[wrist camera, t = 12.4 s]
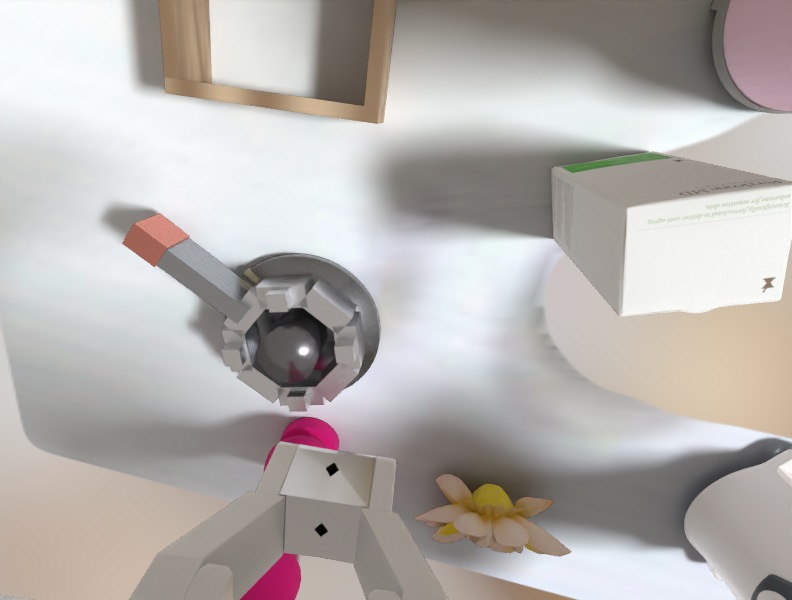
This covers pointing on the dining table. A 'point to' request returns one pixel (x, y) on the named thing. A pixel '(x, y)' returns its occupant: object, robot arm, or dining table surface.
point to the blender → (755, 52)
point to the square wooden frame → (192, 77)
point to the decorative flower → (490, 519)
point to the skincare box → (673, 232)
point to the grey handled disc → (258, 312)
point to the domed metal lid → (309, 321)
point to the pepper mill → (282, 580)
